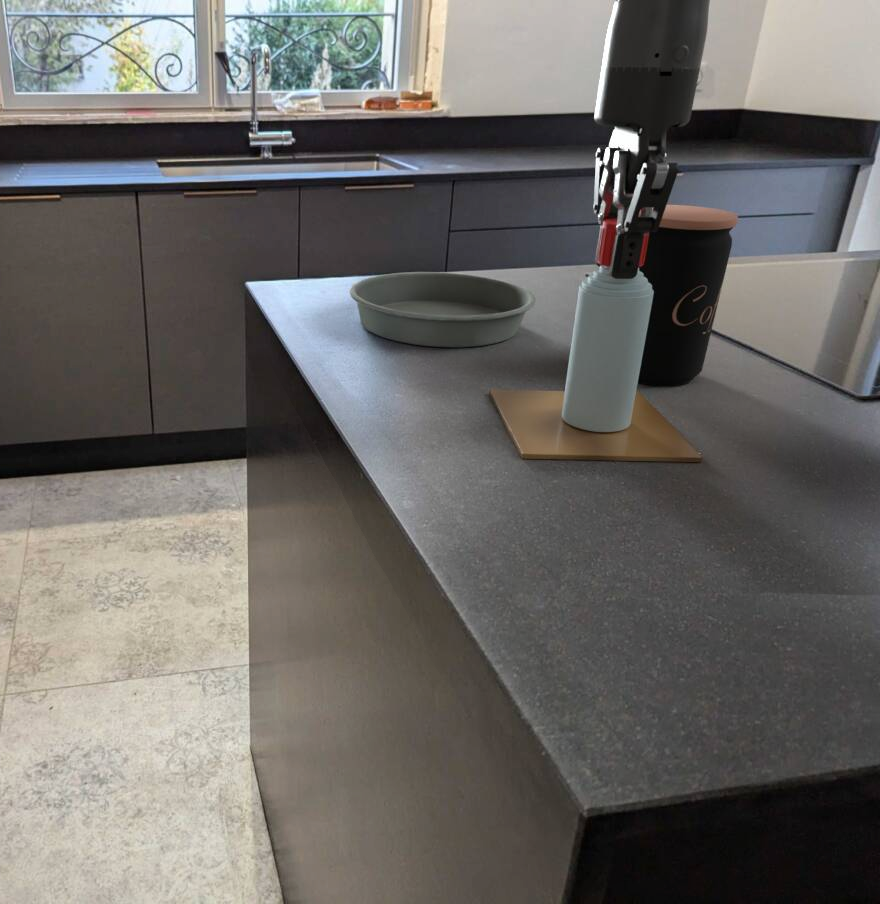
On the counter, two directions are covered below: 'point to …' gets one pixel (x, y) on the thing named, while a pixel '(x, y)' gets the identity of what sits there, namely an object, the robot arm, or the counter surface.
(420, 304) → the cake pan
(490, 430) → the counter surface
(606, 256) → the cap
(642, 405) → the mat
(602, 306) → the bottle
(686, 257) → the coffee jar
